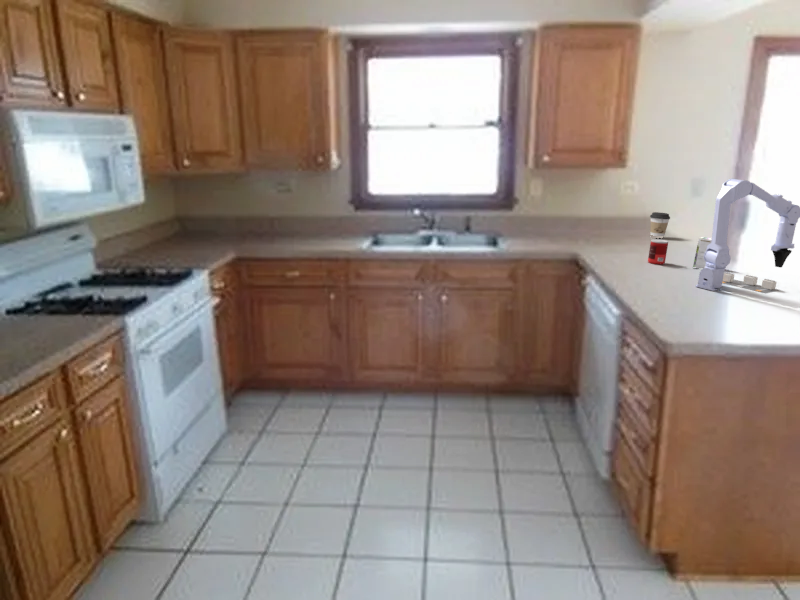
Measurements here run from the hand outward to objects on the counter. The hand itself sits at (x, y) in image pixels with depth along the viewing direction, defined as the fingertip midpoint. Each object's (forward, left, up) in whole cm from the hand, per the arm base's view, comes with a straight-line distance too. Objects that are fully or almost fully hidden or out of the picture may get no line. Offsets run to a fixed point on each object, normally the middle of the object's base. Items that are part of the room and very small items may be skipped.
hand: (778, 266), depth 251 cm
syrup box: (+9, +37, -10) cm, 40 cm away
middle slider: (-6, +7, -8) cm, 13 cm away
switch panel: (-9, +7, -10) cm, 15 cm away
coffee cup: (+66, +100, -10) cm, 120 cm away
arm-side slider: (-11, +14, -8) cm, 20 cm away
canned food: (-1, +54, -10) cm, 55 cm away
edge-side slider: (-6, -1, -8) cm, 11 cm away
